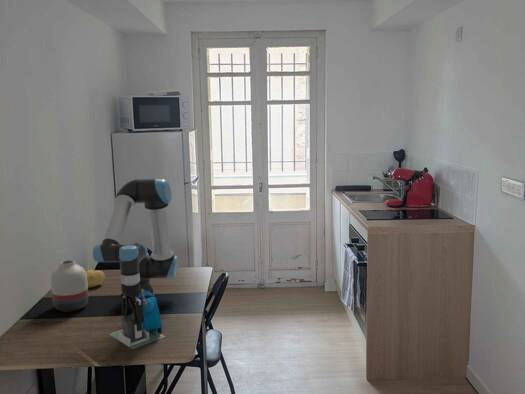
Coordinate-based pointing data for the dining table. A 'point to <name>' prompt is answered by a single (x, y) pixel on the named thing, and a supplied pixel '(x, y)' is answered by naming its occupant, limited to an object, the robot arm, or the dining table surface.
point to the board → (151, 338)
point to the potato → (94, 277)
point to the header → (127, 341)
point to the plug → (130, 328)
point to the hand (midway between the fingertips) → (133, 334)
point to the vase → (69, 287)
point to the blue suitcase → (150, 312)
